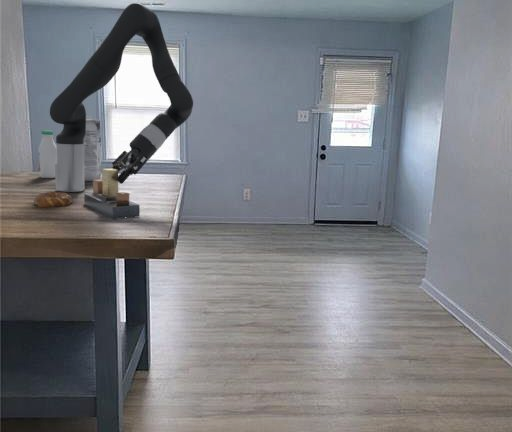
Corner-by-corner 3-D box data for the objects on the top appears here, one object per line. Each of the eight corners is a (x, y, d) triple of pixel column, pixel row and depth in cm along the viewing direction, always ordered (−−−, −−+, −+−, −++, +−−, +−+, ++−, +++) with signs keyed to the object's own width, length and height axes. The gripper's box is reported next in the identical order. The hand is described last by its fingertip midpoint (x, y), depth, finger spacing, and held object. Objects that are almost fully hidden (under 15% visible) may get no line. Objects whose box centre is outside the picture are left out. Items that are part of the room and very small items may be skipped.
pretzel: (54, 210, 138) (53, 198, 138) (24, 206, 141) (24, 194, 141) (80, 203, 150) (79, 192, 149) (52, 199, 153) (51, 188, 152)
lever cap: (102, 198, 141) (102, 168, 139) (113, 197, 143) (113, 168, 141) (108, 200, 137) (107, 170, 136) (119, 199, 140) (119, 170, 138)
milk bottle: (62, 177, 202) (61, 131, 198) (49, 179, 195) (47, 131, 190) (48, 175, 204) (46, 130, 200) (35, 177, 197) (32, 130, 193)
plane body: (84, 204, 147) (83, 179, 146) (108, 202, 152) (108, 178, 151) (112, 219, 129) (112, 191, 128) (139, 216, 134) (139, 189, 132)
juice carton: (95, 181, 194) (94, 116, 188) (71, 180, 194) (69, 115, 188) (103, 179, 203) (102, 116, 197) (79, 177, 203) (77, 115, 197)
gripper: (130, 131, 147) (95, 168, 143) (150, 134, 136) (113, 174, 132) (146, 148, 152) (112, 184, 147) (166, 152, 141) (131, 191, 136)
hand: (113, 179), depth 139 cm, fingers open, 8 cm apart
